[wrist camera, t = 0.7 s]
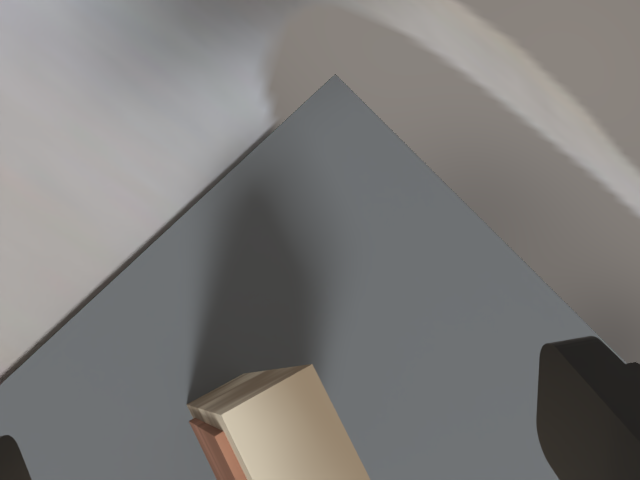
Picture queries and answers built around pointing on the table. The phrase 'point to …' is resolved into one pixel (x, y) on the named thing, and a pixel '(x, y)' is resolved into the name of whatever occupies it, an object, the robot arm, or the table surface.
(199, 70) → the table surface
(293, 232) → the mat
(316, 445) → the card box
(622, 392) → the robot arm
